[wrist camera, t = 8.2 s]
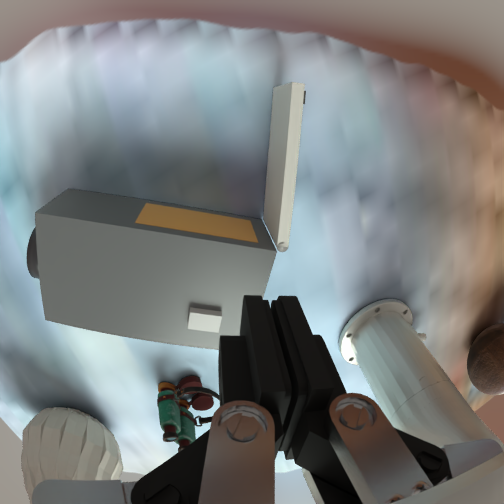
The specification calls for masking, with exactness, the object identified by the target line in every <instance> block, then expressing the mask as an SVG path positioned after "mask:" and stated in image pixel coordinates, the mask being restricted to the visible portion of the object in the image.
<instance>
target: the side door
mask: <svg viewBox="0 0 504 504" xmlns="http://www.w3.org/2000/svg"><path fill="white" fill-rule="evenodd" d="M304 86H305V84H302V83H295V82H291V83H288V84H284V85H280V86H277V87H273V99H272V112H271V125H270V138H269V151H268V164H267V176H266V189H265V201H264V213H263V220H264V222H265V224H266V226H267V228H268V230H269V233H270V235H271V237H272V239H273V241H274V243H275V245H276V247H277V249H278V251H280V252H285V251H286V250H287V249H288V244H289V236H290V228H291V219H292V210H293V202H294V193H295V183H296V174H297V164H298V154H299V144H300V133H301V122H302V110H303V104H305V95H306V91H304Z"/></svg>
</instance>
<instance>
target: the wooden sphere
mask: <svg viewBox="0 0 504 504" xmlns="http://www.w3.org/2000/svg"><path fill="white" fill-rule="evenodd" d="M467 370H468V375H469V378H470V380H471V382H472V383H473V385H474V386H475V387H476V388H477V389H478V390H479V391H481V392H483V393H485V394H489V395H499V394H503V393H504V323H501V324H495V325H492V326H490V327H488V328H486V329H485V330H484V331H482V332H481V333H480V334H479V335H478V336H477V338H476V339H475V340H474V342H473V344H472V346H471V348H470V351H469V354H468V359H467Z"/></svg>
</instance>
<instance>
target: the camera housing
mask: <svg viewBox="0 0 504 504" xmlns="http://www.w3.org/2000/svg"><path fill="white" fill-rule="evenodd" d="M35 223H36V227H35V228H34V230H33V232H32V234H31V236H30V239H29V243H28V248H27V266H28V270H29V273H30V275H31V276H32V277H34V278H38V279H40V287H41V294H42V301H43V308H44V314H45V320H48V321H52V322H56V323H60V324H65V325H69V326H73V327H78V328H83V329H87V330H92V331H97V332H102V333H107V334H113V335H118V336H124V337H129V338H135V339H141V340H147V341H154V342H160V343H167V344H174V345H182V346H190V347H198V348H206V349H216V350H219V338H220V335H230V336H239V335H240V325H241V315H242V305H243V297H244V295H261V296H262V299H263V296H264V293H265V289H266V286H267V283H268V279H269V276H270V273H271V269H272V266H273V263H274V259H275V256H276V253H277V251H276V248H275V246H274V244H273V242H272V240H271V238H270V236H269V233H268V231H267V229H266V227H265V225H264V223H263V221H262V219H256V218H251V217H245V216H240V215H234V214H229V213H223V212H217V211H212V210H206V209H200V208H194V207H188V206H182V205H176V204H170V203H163V202H157V201H151V200H144V199H138V198H131V197H125V196H118V195H111V194H104V193H97V192H90V191H83V190H75V189H67V190H66V191H64V192H63V193H61V194H60V195H59V196H57V197H56V198H54V199H53V200H52V201H50V202H49V203H48V204H46V205H45V206H43V207H42V208H41V209H39V210H38V211H37V212H36V213H35Z"/></svg>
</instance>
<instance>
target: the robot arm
mask: <svg viewBox="0 0 504 504" xmlns="http://www.w3.org/2000/svg"><path fill="white" fill-rule="evenodd" d="M412 321H413V317H412V313H411V311H410V309H409V308H408V307H407V305H406V304H404V303H403V302H402V301H399V300H397V299H384V300H380V301H376V302H374V303H372V304H370V305H368V306H366V307H365V308H363V309H361V310H360V311H359V312H358V313H356V314H355V315H354V316H353V317H352V318H351V319H350V320H349V322H348V323H347V324H346V326H345V327H344V329H343V331H342V333H341V335H340V338H339V350H340V352H341V354H342V356H343V358H344V359H345V360H346V361H347V362H348V363H351V364H354V365H359V366H360V368H361V370H362V372H363V374H364V376H365V378H366V380H367V382H368V384H369V386H370V387H371V389H372V391H373V393H374V395H375V397H376V399H377V401H378V403H379V405H380V407H381V408H380V407H379V406H378V404H377V403H376V402H375V401H374V400H372V399H371V398H369V397H368V396H365V395H362V394H358V393H347V392H346V390H345V388H344V385H343V383H342V381H341V379H340V376H339V374H338V372H337V369H336V367H335V365H334V363H333V360H332V358H331V356H330V353H329V351H328V349H327V347H326V344H325V342H324V340H323V338H322V337H321V336H320V335H313V334H312V332H311V329H310V327H309V324H308V322H307V320H306V317H305V315H304V313H303V310H302V308H301V305H300V303H299V301H298V298H297V297H296V296H279V297H278V299H277V300H272V303H271V309H270V305H269V302H268V300H263V299H262V296H261V295H244V297H243V305H242V315H241V325H240V335H239V336H230V335H220V338H219V396H220V407H219V408H218V409H217V410H216V412H215V413H214V415H213V418H212V421H211V427H210V429H209V430H208V431H207V432H205V433H204V434H203V435H202V436H200V437H199V438H198V439H196V440H195V441H194V442H192V443H191V444H189V445H188V446H187V447H185V448H184V449H183V450H181V451H180V452H178V453H177V454H176V455H174V456H173V457H171V458H170V459H169V460H167V461H166V462H164V463H163V464H161V465H160V466H158V467H157V468H156V469H154V470H153V471H151V472H150V473H148V474H147V475H145V476H144V477H142V478H141V479H140V480H139V481H137V482H122V481H121V480H59V479H50V480H44V481H42V482H40V483H39V484H37V486H36V487H35V489H34V490H33V494H32V504H275V458H276V455H277V453H278V451H284V454H285V458H286V460H289V459H294V461H295V464H297V465H299V466H301V467H302V472H303V475H304V478H305V480H306V482H307V484H308V487H309V489H310V491H311V494H312V496H313V498H314V500H315V502H316V504H504V444H503V443H502V442H501V441H500V439H499V438H498V437H497V436H496V435H495V434H494V433H493V432H492V431H491V430H490V429H489V428H488V427H487V426H486V425H485V424H484V422H483V421H482V420H481V419H480V418H479V417H478V416H477V415H476V413H475V412H474V411H473V410H472V409H471V407H470V406H469V404H468V403H467V402H466V400H465V399H464V398H463V397H462V395H461V394H460V392H459V391H458V390H457V388H456V387H455V385H454V384H453V383H452V382H451V380H450V379H449V377H448V376H447V375H446V373H445V372H444V370H443V369H442V368H441V366H440V365H439V364H438V362H437V361H436V360H435V358H434V357H433V356H432V354H431V353H430V352H429V350H428V349H427V348H426V346H425V345H424V344H423V341H425V340H426V334H425V333H417V332H416V331H415V330H414V328H413V327H412ZM381 409H382V410H381Z"/></svg>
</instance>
